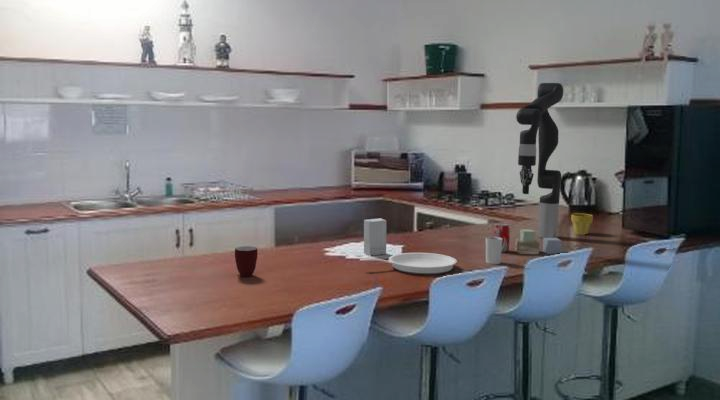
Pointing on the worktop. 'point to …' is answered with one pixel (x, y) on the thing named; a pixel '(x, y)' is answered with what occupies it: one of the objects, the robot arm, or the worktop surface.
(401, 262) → the pan
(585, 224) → the plant pot
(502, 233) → the soda can
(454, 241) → the worktop surface
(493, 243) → the drinking glass
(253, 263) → the mug
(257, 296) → the worktop surface
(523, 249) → the button housing
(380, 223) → the skincare box
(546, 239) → the slate block
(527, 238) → the green cap
